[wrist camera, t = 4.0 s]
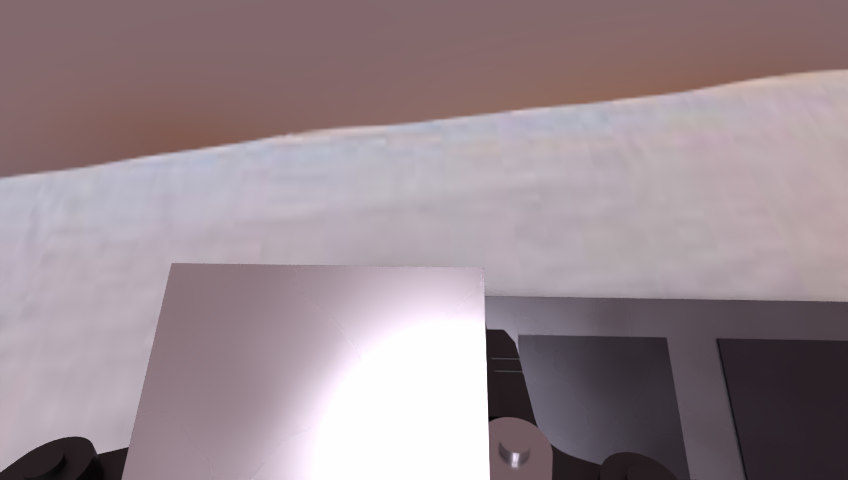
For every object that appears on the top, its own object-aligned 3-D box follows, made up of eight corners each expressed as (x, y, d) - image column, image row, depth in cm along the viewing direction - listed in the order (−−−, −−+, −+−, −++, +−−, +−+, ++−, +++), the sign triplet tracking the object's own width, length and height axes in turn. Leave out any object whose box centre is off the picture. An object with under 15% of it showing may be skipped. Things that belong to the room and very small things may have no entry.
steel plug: (448, 357, 18) (483, 267, 5) (448, 466, 16) (495, 675, 4) (351, 355, 18) (172, 263, 6) (343, 463, 16) (80, 659, 4)
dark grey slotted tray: (857, 315, 18) (925, 302, 15) (931, 542, 15) (1027, 570, 13) (285, 305, 18) (263, 291, 16) (257, 522, 16) (225, 545, 13)
